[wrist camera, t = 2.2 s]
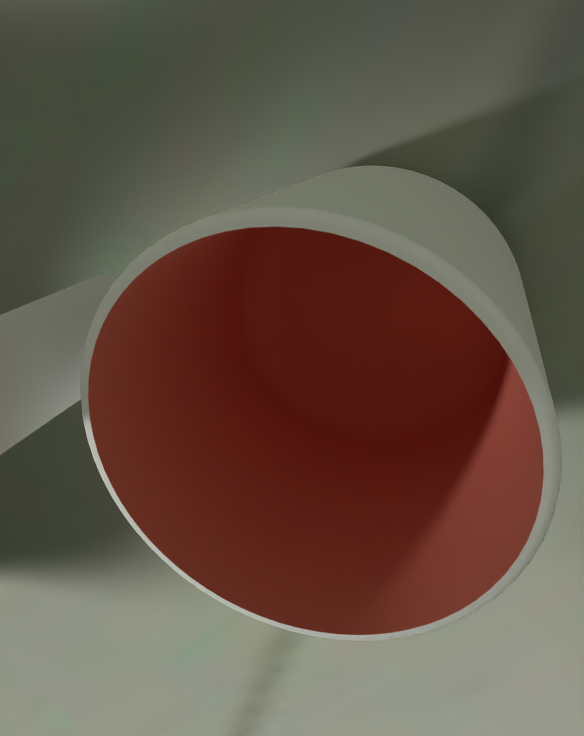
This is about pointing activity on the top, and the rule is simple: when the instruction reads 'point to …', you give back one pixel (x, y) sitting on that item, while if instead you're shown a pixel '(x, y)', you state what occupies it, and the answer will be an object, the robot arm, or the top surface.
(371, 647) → the top surface
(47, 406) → the robot arm
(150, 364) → the cup
